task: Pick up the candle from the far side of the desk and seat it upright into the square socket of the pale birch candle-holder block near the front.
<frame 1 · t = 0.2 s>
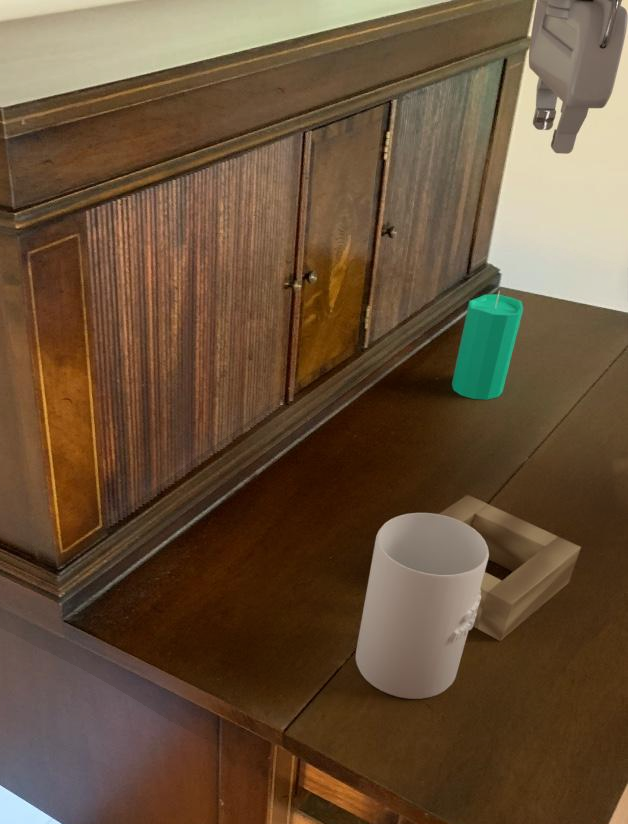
hand: (550, 139, 91), 28 cm above the table, tool pointing down, fingers open, 8 cm apart
mug: (409, 650, 75), on the table
candle: (476, 389, 112), on the table
holder: (478, 581, 82), on the table
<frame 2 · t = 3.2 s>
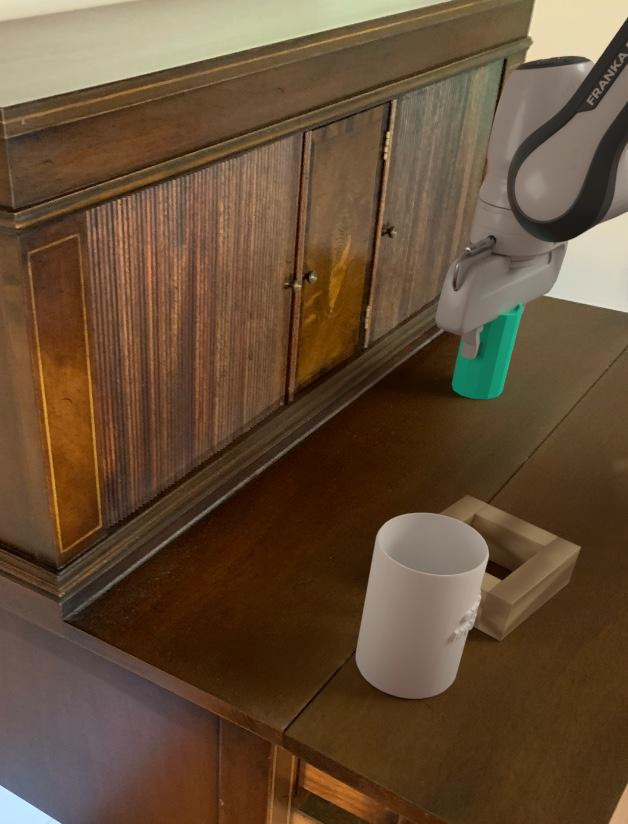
hand: (486, 348, 108), 5 cm above the table, tool pointing down, fingers closed on candle, 5 cm apart
candle: (476, 389, 112), on the table, touching gripper
everything else where it was.
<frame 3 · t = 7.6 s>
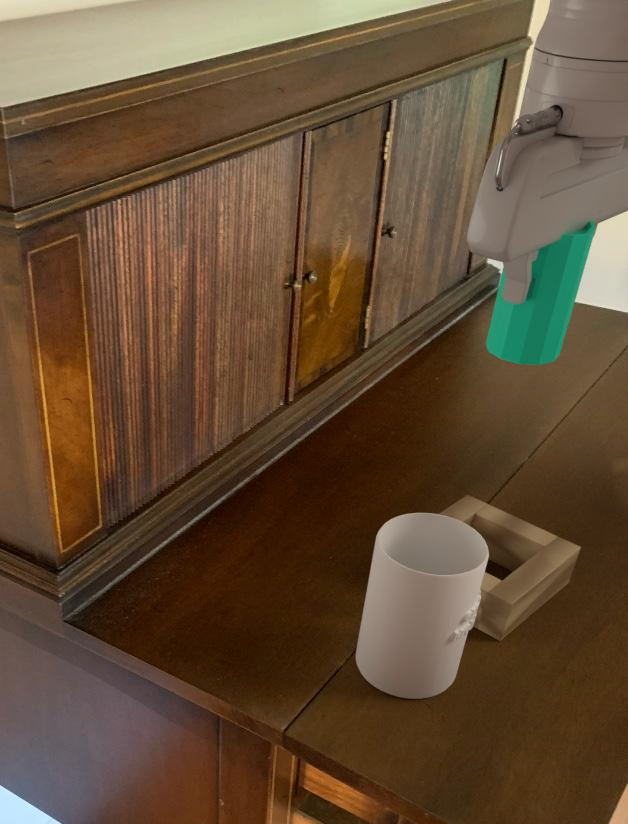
hand: (538, 289, 74), 23 cm above the table, tool pointing down, fingers closed on candle, 5 cm apart
candle: (521, 351, 77), point 18 cm above the table, touching gripper
everything else where it was.
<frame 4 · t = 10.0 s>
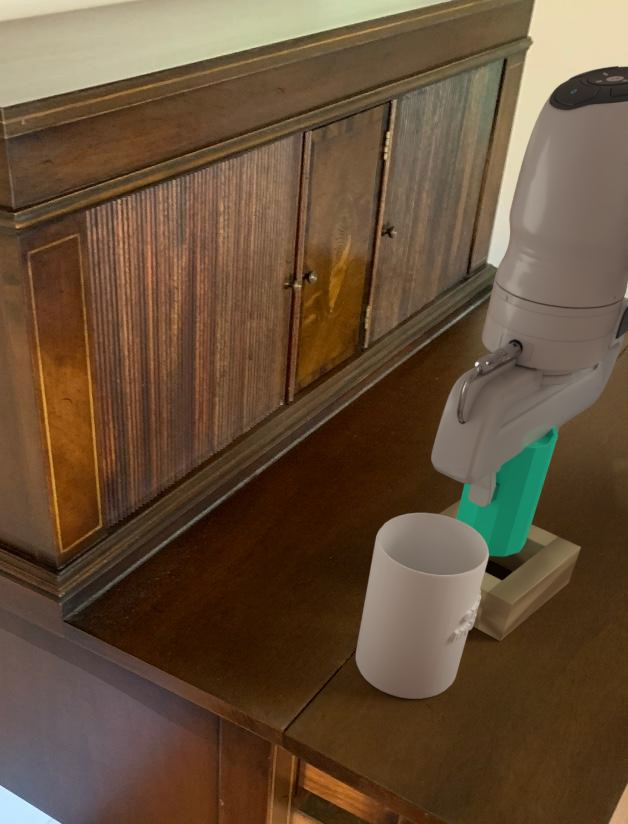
hand: (504, 485, 76), 10 cm above the table, tool pointing down, fingers closed on candle, 5 cm apart
candle: (488, 537, 79), point 5 cm above the table, touching gripper
everything else where it was.
when the fingers open (5 cm above the table, at t = 11.9 s): candle stays where it is, resting in holder.
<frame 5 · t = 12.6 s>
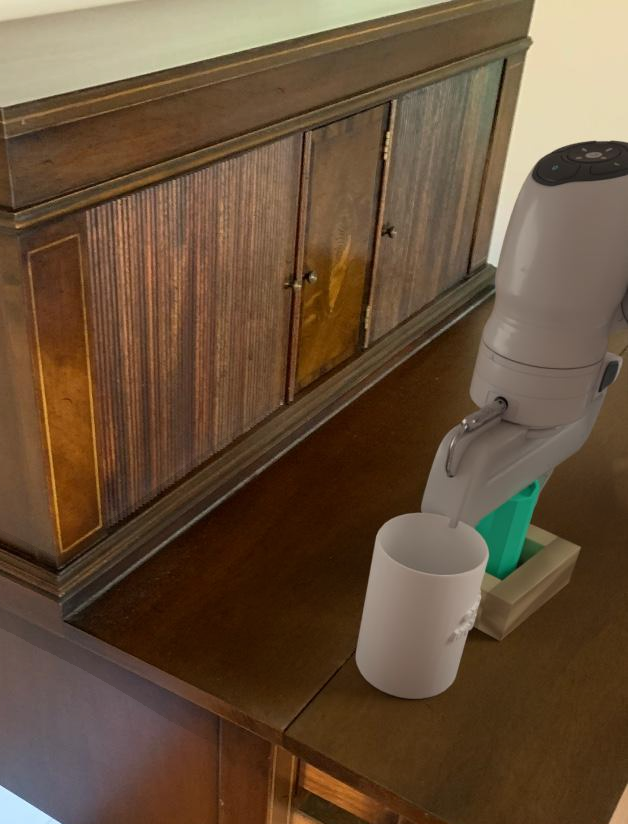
hand: (492, 529, 78), 6 cm above the table, tool pointing down, fingers open, 8 cm apart
candle: (475, 581, 82), resting in holder
everything else where it was.
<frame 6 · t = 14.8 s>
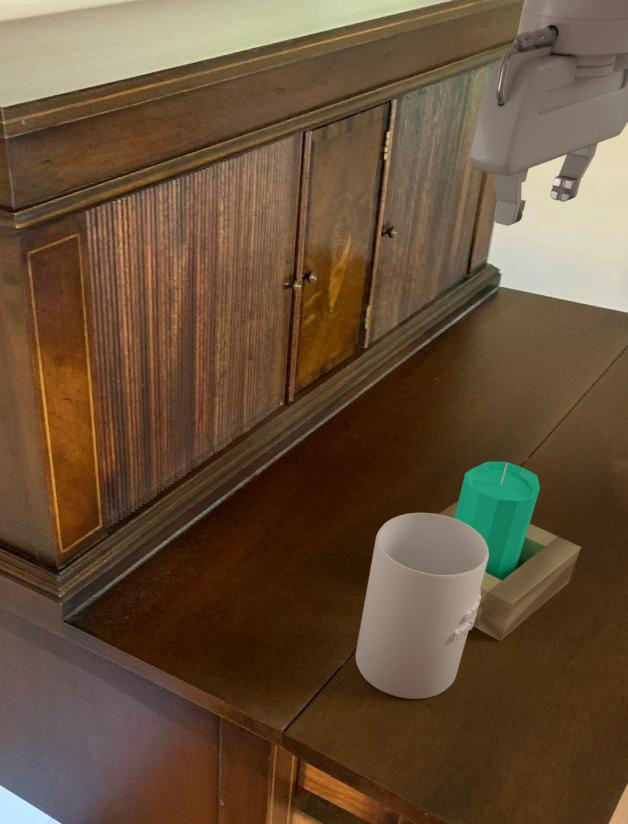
hand: (535, 210, 78), 27 cm above the table, tool pointing down, fingers open, 8 cm apart
nothing on the table moved.
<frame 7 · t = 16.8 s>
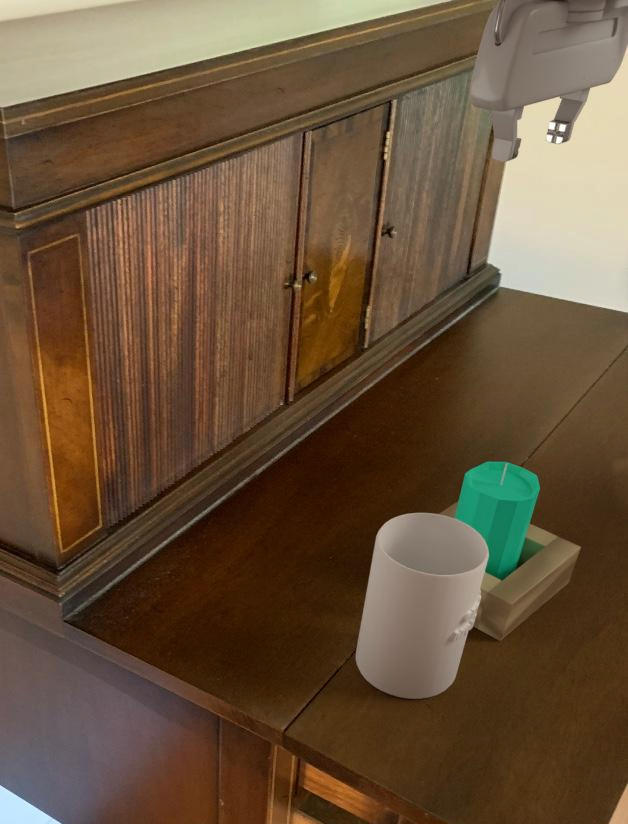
hand: (531, 150, 85), 29 cm above the table, tool pointing down, fingers open, 8 cm apart
nothing on the table moved.
at the end: candle 0.3 cm off-centre in the holder, point 0.0 cm above the holder's base; candle tilted 0° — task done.
